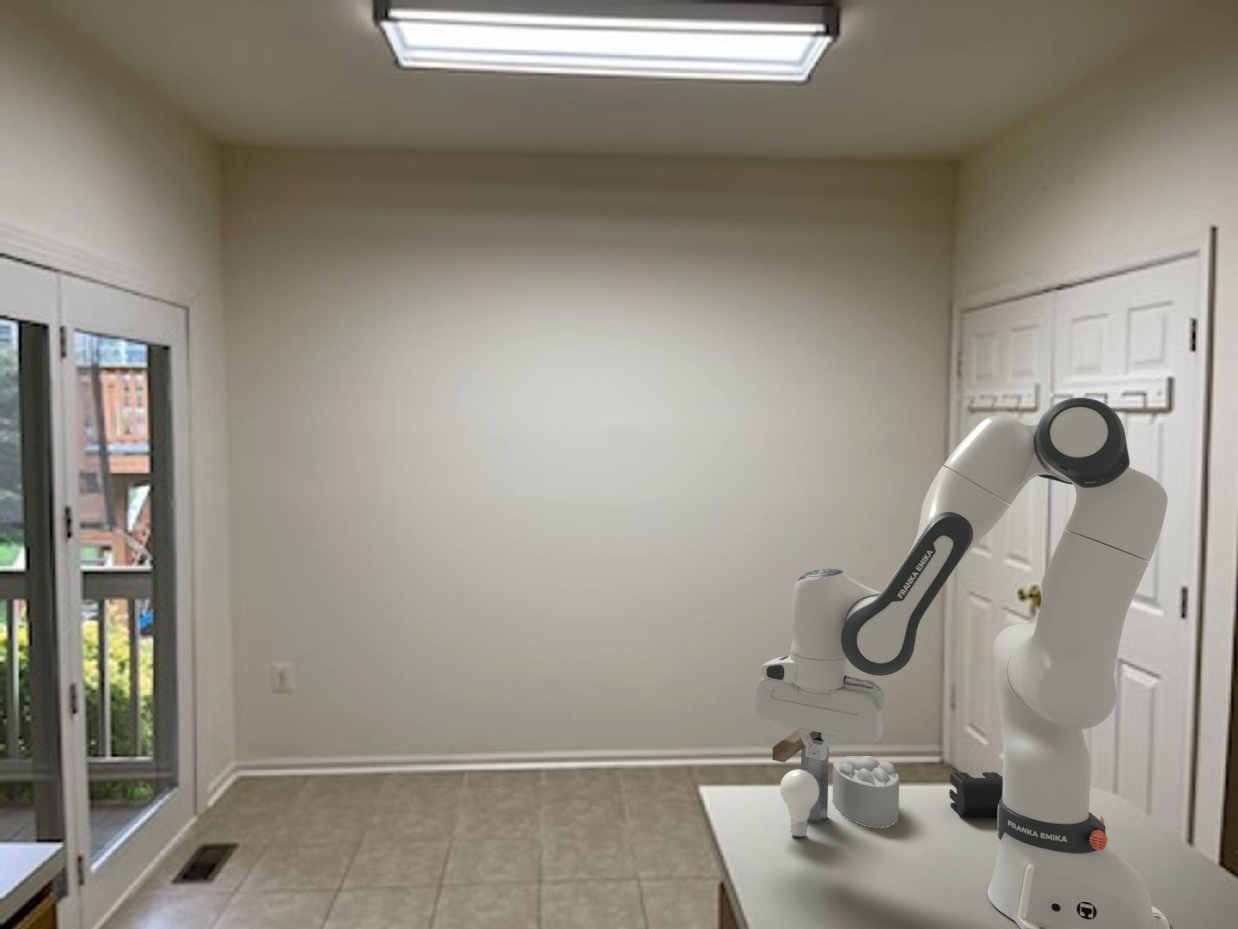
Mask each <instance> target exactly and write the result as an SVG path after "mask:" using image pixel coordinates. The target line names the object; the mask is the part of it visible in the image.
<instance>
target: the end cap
mask: <svg viewBox="0 0 1238 929" xmlns="http://www.w3.org/2000/svg"><path fill="white" fill-rule="evenodd" d="M982 776H983V777H973V776H971V775H970V774H969V773H968V772H965V771H963V772H958V771H956V772H951V773H950V775H949V779H948V781H949V783H950V784H951V785H952V787H954V788H955V790H956V792H955V791H954V790H953V789H949V792H948V794H949V799H951V800H952V801H953V802H950V808H951V809H952V810H953V811H954V812H955V813H956V814H957V815H958V816H960V817H997V815H998V805H999V800H1000V799H1001V796H1002V789H1003V775H1001V774H999V773H998V772H994V771H991V772H990V771H989V772H988V771H985V772H982Z"/></svg>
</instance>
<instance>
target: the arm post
mask: <svg viewBox="0 0 1238 929" xmlns="http://www.w3.org/2000/svg"><path fill="white" fill-rule="evenodd" d="M824 741H825V739H824V740H823V739H821V738H815V739H814V740H813V743H814V744H817V745H822V744H823V742H824ZM800 751H801V754H800V756H801V757H800V770H805V771H807V772H809V773H810V774H811V775H813V776H814V778H815V779H816V781H817V783H818V786H819V797H818V800H817V802H816V803H815V805H814V806H813V807H812V809H811V811H810V814H809V818H808V819H807V822H810V823H813V822H814V824H816V823H817V825H821V824H822V823H823V822H824V821H825V820H826V819H827V818H828V813H829V812H828V811H829V810H828V808H829V803H828V802H829V801H828V800H829V764H830V762H829V759H830V758H829V756H830V755H829V752H830V745H829V746H828V747H827V757H826V759H825V760H824V761H823V760H819V759H815V758H811V757H807V756H806V755H805V752H806V746H805V747H804V748H802V749H801V750H800ZM826 817H827V818H826ZM821 822H822V823H821Z"/></svg>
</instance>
